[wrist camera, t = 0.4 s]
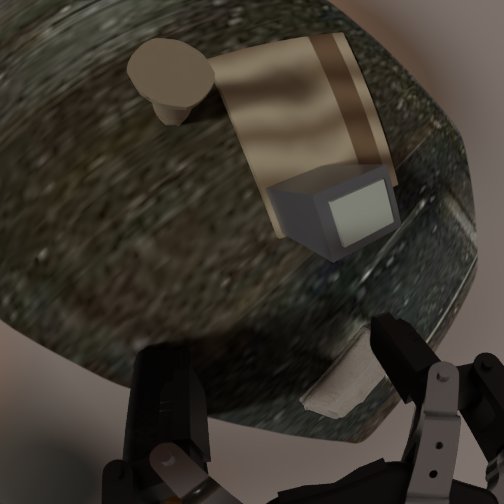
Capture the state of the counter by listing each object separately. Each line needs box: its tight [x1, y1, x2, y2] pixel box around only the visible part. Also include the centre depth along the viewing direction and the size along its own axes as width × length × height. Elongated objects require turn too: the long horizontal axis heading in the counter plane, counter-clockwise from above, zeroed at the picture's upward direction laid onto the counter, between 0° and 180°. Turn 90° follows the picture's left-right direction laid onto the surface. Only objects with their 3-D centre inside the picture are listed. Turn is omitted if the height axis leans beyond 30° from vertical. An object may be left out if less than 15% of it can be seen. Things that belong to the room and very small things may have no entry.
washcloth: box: [299, 326, 386, 419], centre depth 46 cm, size 12×18×3 cm, turn 143°
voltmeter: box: [123, 347, 208, 504], centre depth 28 cm, size 16×9×25 cm, turn 176°
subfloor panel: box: [207, 33, 398, 239], centre depth 34 cm, size 24×20×1 cm
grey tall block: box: [265, 164, 401, 263], centre depth 30 cm, size 6×8×14 cm
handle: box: [127, 38, 215, 126], centre depth 24 cm, size 5×6×15 cm
